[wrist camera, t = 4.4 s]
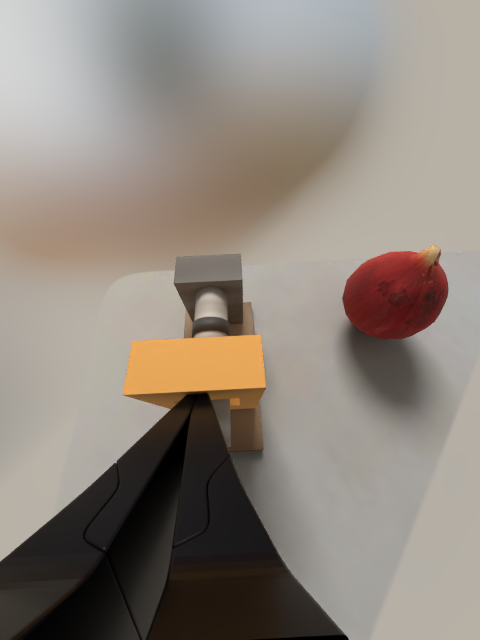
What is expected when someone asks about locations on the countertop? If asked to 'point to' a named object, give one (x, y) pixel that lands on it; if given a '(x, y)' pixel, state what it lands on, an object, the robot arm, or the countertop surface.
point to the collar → (197, 370)
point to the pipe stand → (219, 329)
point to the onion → (396, 293)
